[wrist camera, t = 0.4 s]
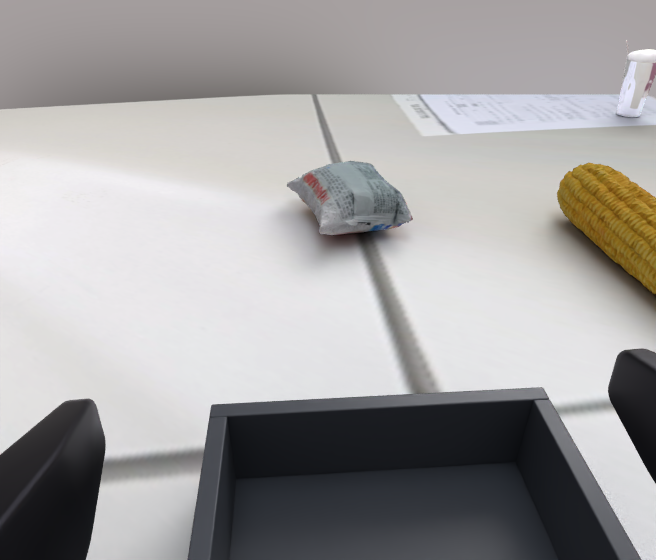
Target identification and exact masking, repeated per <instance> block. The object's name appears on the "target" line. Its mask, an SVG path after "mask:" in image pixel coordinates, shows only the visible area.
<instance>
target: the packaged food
mask: <svg viewBox="0 0 656 560" xmlns="http://www.w3.org/2000/svg"><path fill="white" fill-rule="evenodd" d="M287 187H289V188H290V189H291V190H292V191H295V192H296V193H297V194H298V195H299V197H300V198H301V199H302V201H303V202H305V203H306V204H307V205H308V207H309V208H310V209H311V210H312V211H313V213H314V214H315V216H316V218H317V221H318V223H319V225H320V228H319V233H320V234H327V235H339V234H348V233H359V232H367V231H377V230H384V229H391V228H395V227H399V226H400V225H402V224H404V223H406V222H408V223H409V221H411V220H412V219H413V218H412V216H411V214H410V211H409V209H408V207H407V205H406V202H405V200H404V198H403V196H402V194H401V193H400V192H399V191H398V190H397V189H396V188H394V187H393V186H392V185H390V184H389V183H388V182H387V181H385V180H384V178H383V177H381V175H380V174H379V173H378V172H377V171H376V169H375V168H374V166H373V165H371V164H369V163H363V162H355V161H348V162H340V163H336V164H329V165H326V166H324V167H321V168H318V169H315V170H312V171H309V172H308V173H306V174H304V175H303V176H302V177H301V178H299V177H298V178H296V179H295V180H293V181H291V182H288V183H287Z"/></svg>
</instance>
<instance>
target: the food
mask: <svg viewBox="0 0 656 560" xmlns="http://www.w3.org/2000/svg"><path fill="white" fill-rule="evenodd" d="M557 198H558V202H559V204H560V208H561V209H562V211H563V213H564V214H565V216H566V217H568V219H569V220H570V221H571V222H572V224H574V225H575V226H576V227H577V228H578V229H581V231H583V232H584V233H585V235H586V236H588V237H589V239H591V240H592V241H593V242H594V243H595V244H596V245H597V246H598V247H600V248H601V250H603V251H604V252H605V253H606V254H607V255H608V256H609V257H610V258H611V259H612V260H613V261H614V262H615V263H617V264H619V265H621V266H622V267H623V269H624V270H625V271H627V272H628V273H629V274H630V275H632V276H634V277H635V278H636V279H637V280H639V281H640V282H641V283H642V284H643V286H645V287H646V288H647V289H648V290H649V291H651V292H652V293H653V294H655V295H656V198H655V197H654V196H652V195H651V194H650V193H648V192H647V191H646V190H644V189H642V188H641V187H639V186H638V185H637V184H636V183H634V182H631V181H630V180H629V178H628V177H626V176H625V175H623V174H622V173H621V172H618V171H616V170H614V169H613V168H611V167H609V166H604V165H601V164H593V163H587V164H584V165H579V166H578V167H576V168H574V169H573V171H572V172H570V171H569V172H568V173H567V174H566V175H565V176H564V179H563V180H561V182H560V188H559V190H558V192H557Z"/></svg>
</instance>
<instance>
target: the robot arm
mask: <svg viewBox="0 0 656 560" xmlns="http://www.w3.org/2000/svg"><path fill="white" fill-rule="evenodd" d="M608 393H609V398H610V401H611V403H612V405H613V407H614V408H615V410H616V412H617V414H618V416H619V418H620V420H621V422H622V423H623V425H624V427H625V429H626V431H627V433H628V435H629V437H630V438H631V440H632V442H633V444H634V446H635V448H636V450H637V452H638V454H639V455H640V457H641V459H642V461H643V463H644V465H645V466H646V468H647V470H648V472H649V473H650V475H651V477H652V478H653V480H654V482H655V483H656V353H655V352H652V351H650V350H647V349H632V350H624V351H622V352H620V353H619V355H618V356H617V359H616V362H615V365H614V369H613V372H612V376H611V379H610V383H609V387H608ZM104 456H105V436H104V432H103V428H102V425H101V421H100V418H99V414H98V410H97V407H96V404H95V403H94V401H93V400H91V399H79V400H69V401H65V402H64V403H62V404H61V405H60V406H58V407H57V408H56V409H55V410H54V411H52V412H51V413H50V414H49V415H48V416H46V417H45V418H44V419H43V420H42V421H40V422H39V423H38V424H37V425H36V426H34V427H33V428H32V429H31V430H30V431H28V432H27V433H26V434H25V435H24V436H22V437H21V438H20V439H19V440H18V441H16V442H15V443H14V444H13V445H11V446H10V447H9V448H8V449H7V450H5V451H4V452H3V453H2V454H1V455H0V560H86V557H87V553H88V549H89V545H90V541H91V535H92V530H93V524H94V518H95V512H96V506H97V499H98V493H99V487H100V481H101V474H102V468H103V462H104Z"/></svg>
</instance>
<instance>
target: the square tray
mask: <svg viewBox="0 0 656 560" xmlns="http://www.w3.org/2000/svg"><path fill="white" fill-rule="evenodd" d="M188 560H641V558H640V556H639V555H638V553H637V551H636V549H635V548H634V546H633V544H632V543H631V541H630V539H629V537H628V536H627V534H626V532H625V530H624V529H623V527H622V525H621V523H620V522H619V520H618V518H617V516H616V515H615V513H614V511H613V509H612V508H611V506H610V504H609V502H608V501H607V499H606V497H605V495H604V494H603V492H602V490H601V488H600V487H599V485H598V483H597V481H596V480H595V478H594V476H593V474H592V473H591V471H590V469H589V467H588V466H587V464H586V462H585V460H584V459H583V457H582V455H581V453H580V452H579V450H578V448H577V446H576V445H575V443H574V441H573V439H572V438H571V436H570V434H569V432H568V431H567V429H566V427H565V425H564V424H563V422H562V420H561V418H560V417H559V415H558V413H557V411H556V410H555V408H554V406H553V404H552V403H551V401H550V400H549V398H548V396H547V394H546V392H545V391H544V389H543V388H542V387H540V388H520V389H501V390H482V391H463V392H444V393H425V394H406V395H387V396H367V397H348V398H329V399H310V400H291V401H272V402H253V403H234V404H215V405H212V406H211V411H210V418H209V423H208V430H207V437H206V443H205V450H204V456H203V463H202V469H201V476H200V482H199V489H198V495H197V502H196V508H195V515H194V521H193V528H192V534H191V541H190V548H189V554H188Z"/></svg>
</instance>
